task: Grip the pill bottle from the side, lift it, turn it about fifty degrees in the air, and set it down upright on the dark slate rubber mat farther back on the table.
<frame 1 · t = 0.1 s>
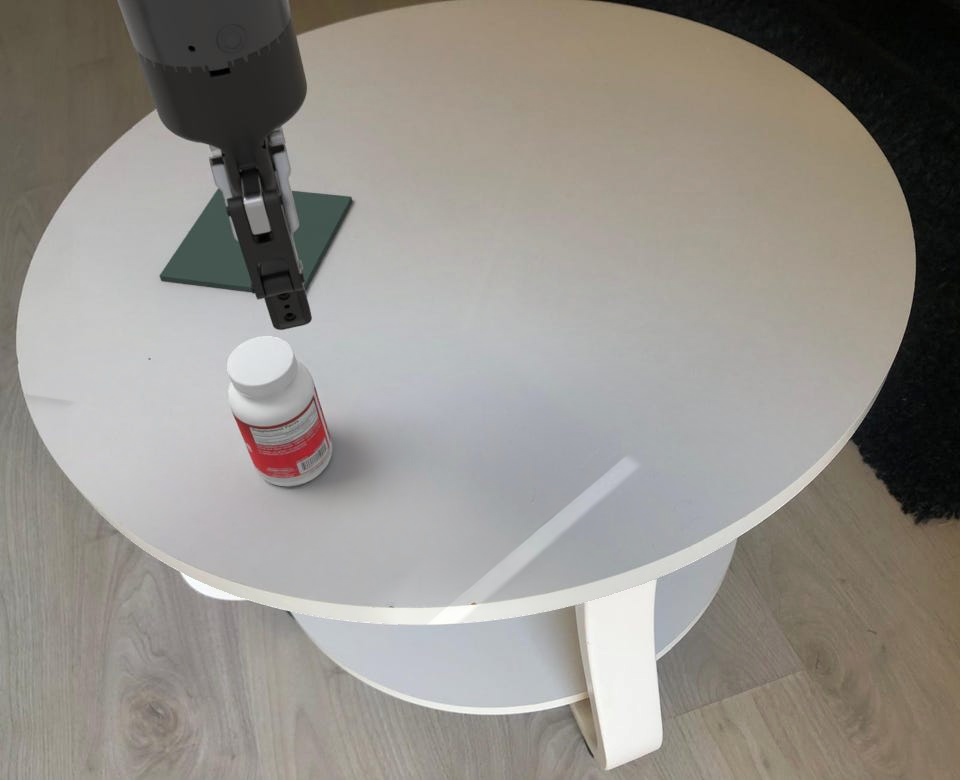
hand: (284, 274, 59), 21 cm above the table, tool pointing down, fingers open, 8 cm apart
pill bottle: (295, 458, 77), on the table
mat: (259, 239, 95), on the table
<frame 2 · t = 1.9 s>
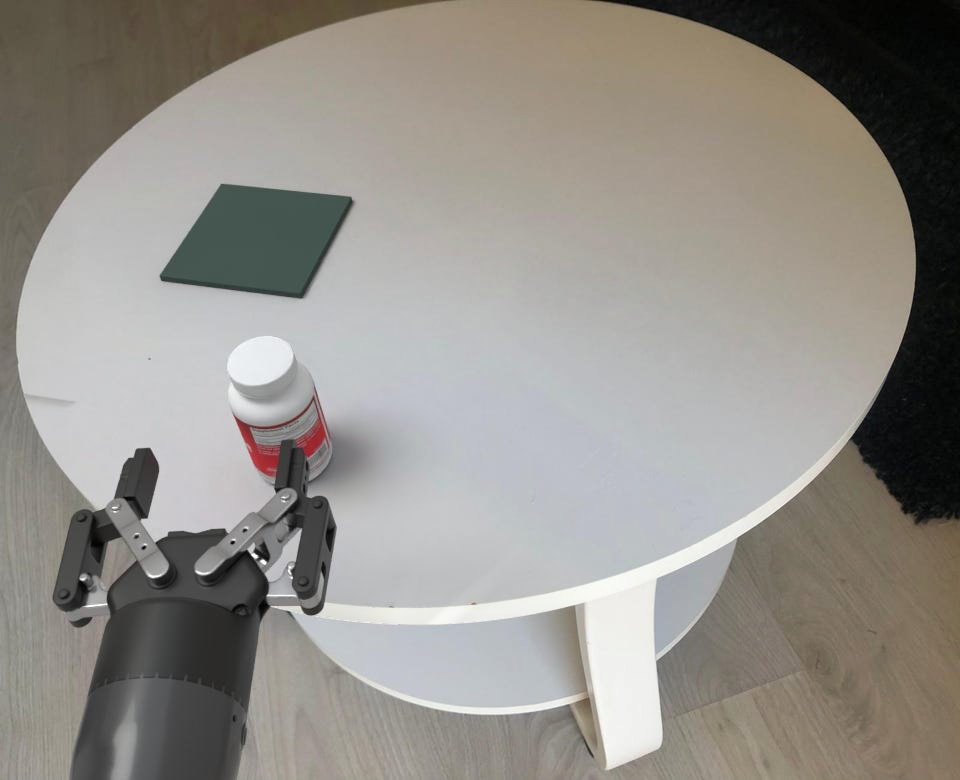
hand: (219, 451, 58), 15 cm above the table, tool horizontal, fingers open, 8 cm apart
nothing on the table moved.
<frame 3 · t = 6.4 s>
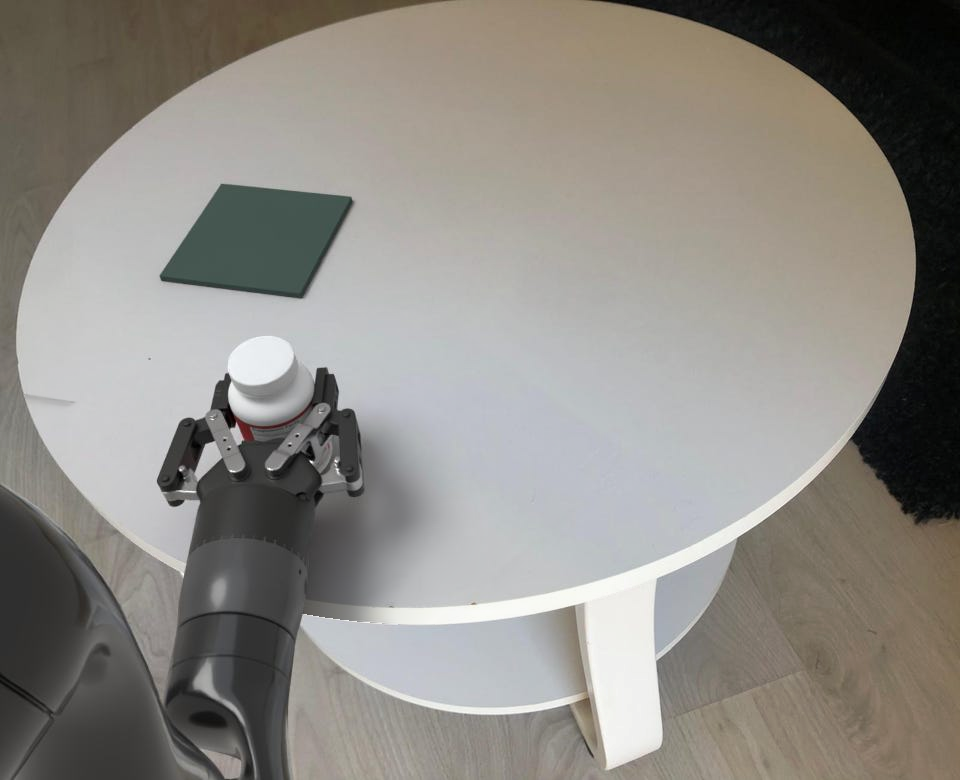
hand: (278, 378, 73), 7 cm above the table, tool horizontal, fingers closed on pill bottle, 6 cm apart
pill bottle: (295, 458, 77), on the table, touching gripper
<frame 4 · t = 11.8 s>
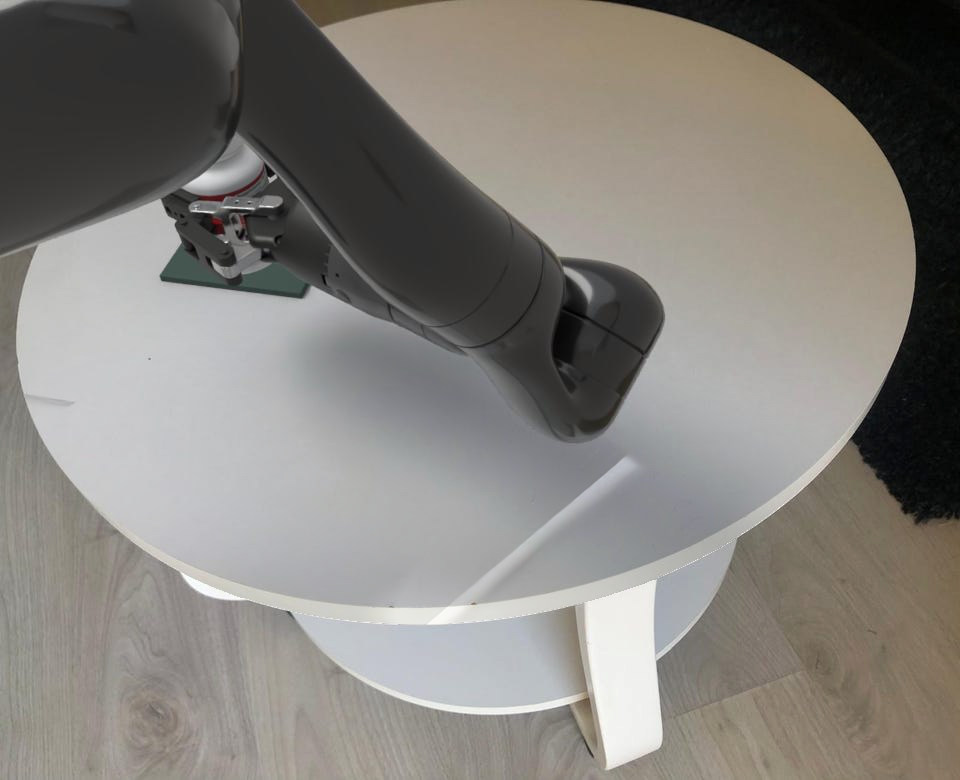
hand: (202, 171, 72), 18 cm above the table, tool horizontal, fingers closed on pill bottle, 6 cm apart
pill bottle: (247, 253, 76), point 11 cm above the table, touching gripper
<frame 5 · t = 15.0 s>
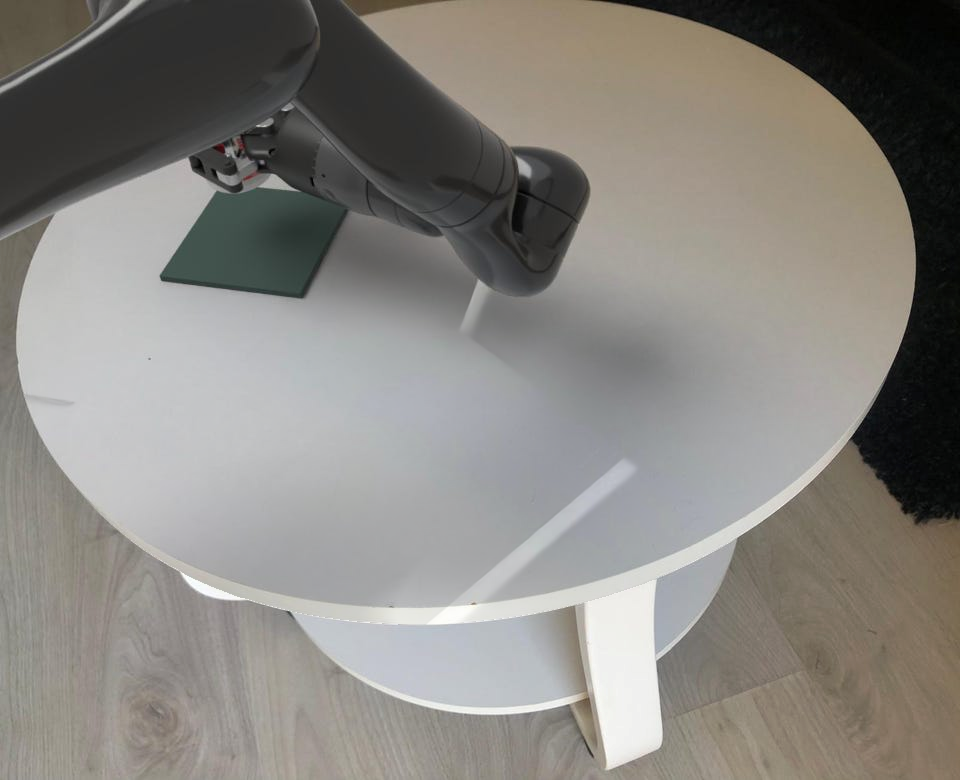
hand: (201, 105, 85), 14 cm above the table, tool horizontal, fingers closed on pill bottle, 6 cm apart
pill bottle: (241, 177, 89), point 7 cm above the table, touching gripper
when the fingers open (7 cm above the table, at t = 17.4 s): pill bottle stays where it is, resting on mat.
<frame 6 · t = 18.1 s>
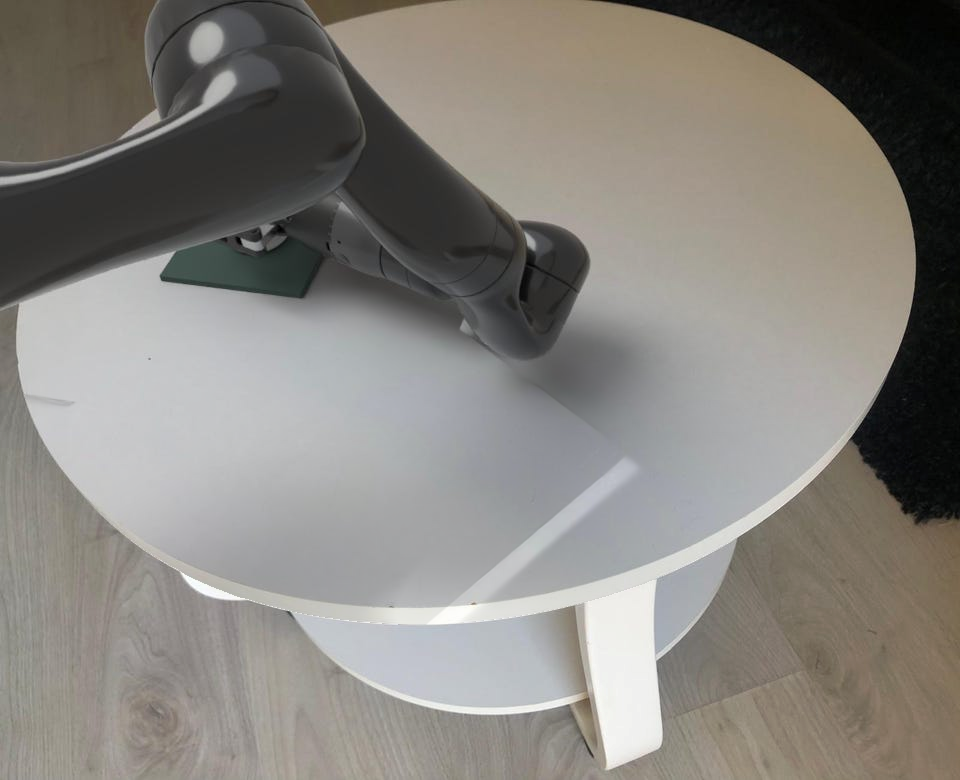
hand: (224, 168, 90), 8 cm above the table, tool horizontal, fingers open, 8 cm apart
pill bottle: (259, 236, 94), resting on mat
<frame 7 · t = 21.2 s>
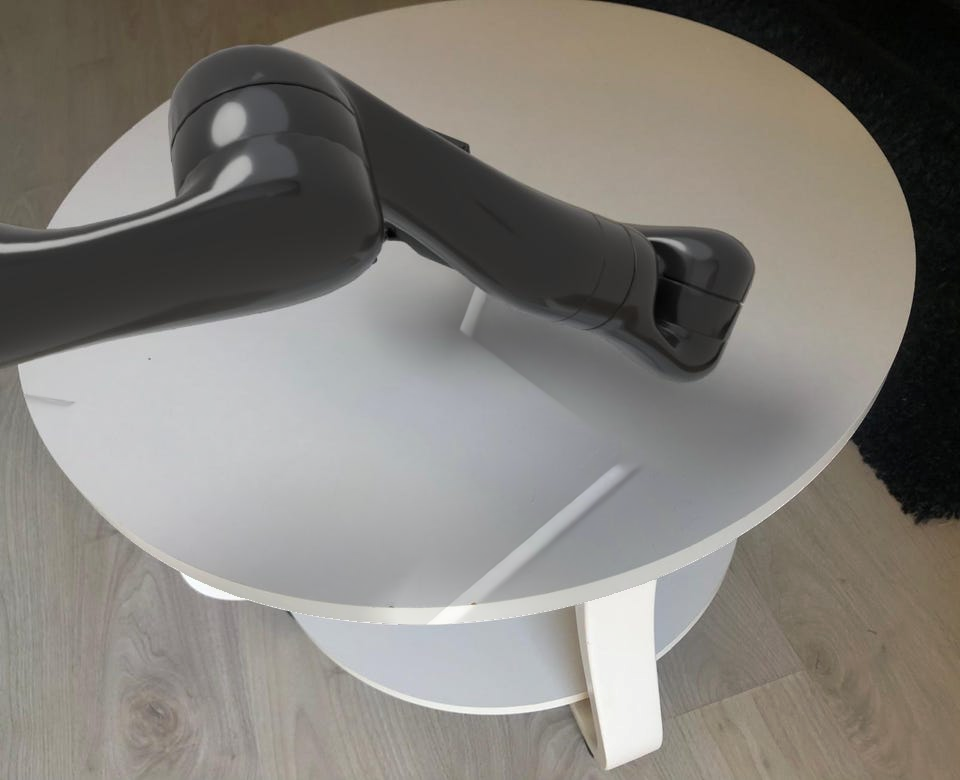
hand: (321, 165, 81), 12 cm above the table, tool horizontal, fingers open, 8 cm apart
nothing on the table moved.
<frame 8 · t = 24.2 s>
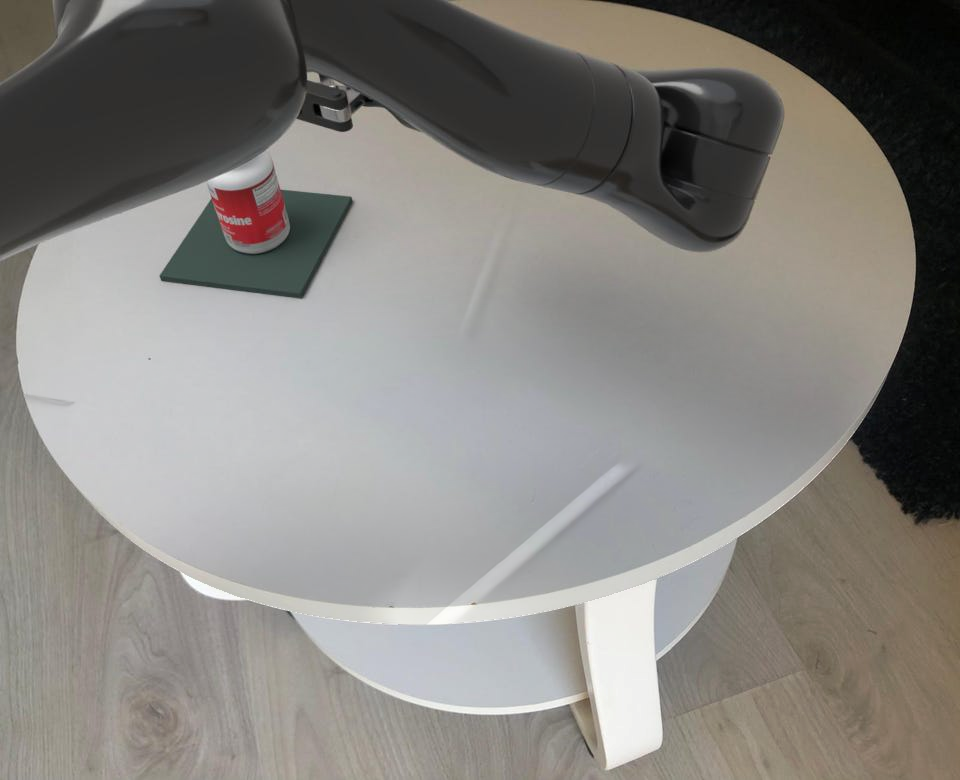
hand: (292, 32, 72), 24 cm above the table, tool horizontal, fingers open, 8 cm apart
nothing on the table moved.
at the end: pill bottle inside the target area on the mat (0.1 cm from its centre), point 0.4 cm above the mat's base; pill bottle tilted 0°; the gripper is holding nothing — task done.
